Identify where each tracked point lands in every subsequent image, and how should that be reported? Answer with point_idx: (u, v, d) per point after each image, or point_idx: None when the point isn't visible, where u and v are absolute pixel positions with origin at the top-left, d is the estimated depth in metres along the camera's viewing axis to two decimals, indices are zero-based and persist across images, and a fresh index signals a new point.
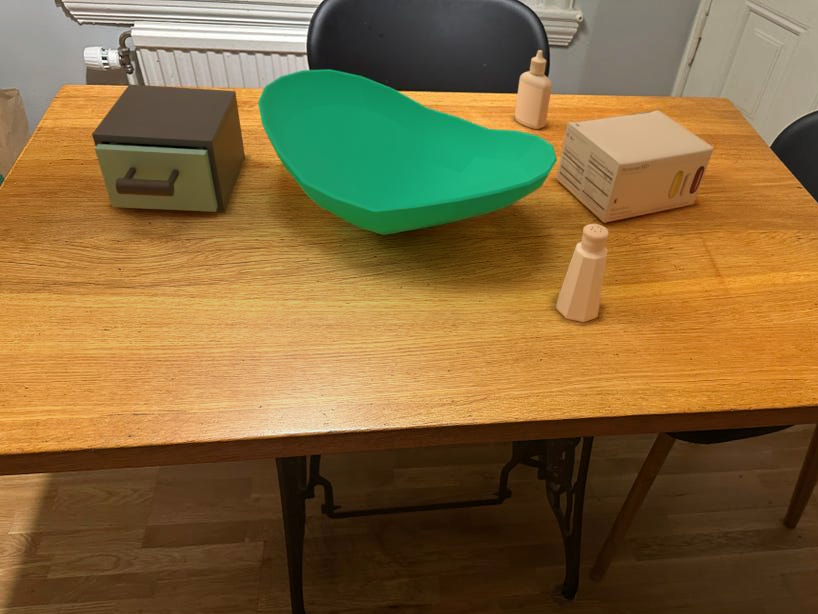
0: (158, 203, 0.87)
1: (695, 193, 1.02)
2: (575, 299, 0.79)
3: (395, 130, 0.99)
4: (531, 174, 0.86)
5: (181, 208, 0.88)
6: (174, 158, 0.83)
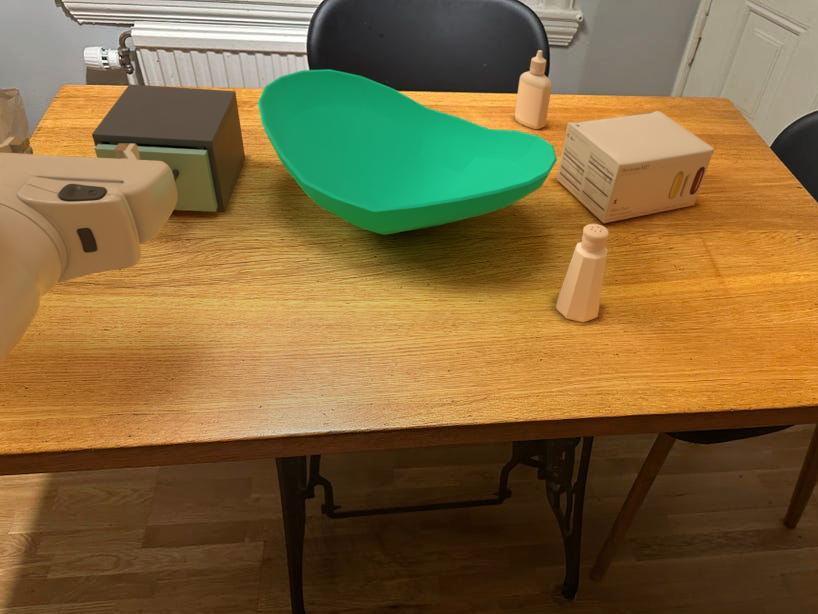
0: None
1: (695, 194, 1.02)
2: (575, 299, 0.79)
3: (395, 130, 0.99)
4: (531, 174, 0.86)
5: (181, 208, 0.88)
6: (174, 158, 0.83)
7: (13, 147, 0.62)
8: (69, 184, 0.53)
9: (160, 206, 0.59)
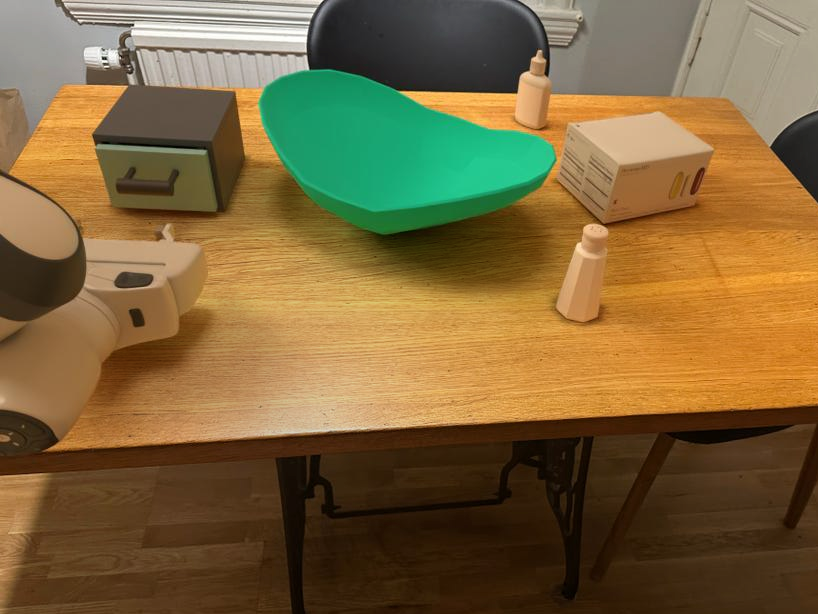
0: (158, 203, 0.87)
1: (696, 194, 1.02)
2: (575, 299, 0.79)
3: (395, 130, 0.99)
4: (531, 174, 0.86)
5: (181, 208, 0.88)
6: (174, 158, 0.83)
7: None
8: (122, 272, 0.64)
9: (195, 283, 0.70)
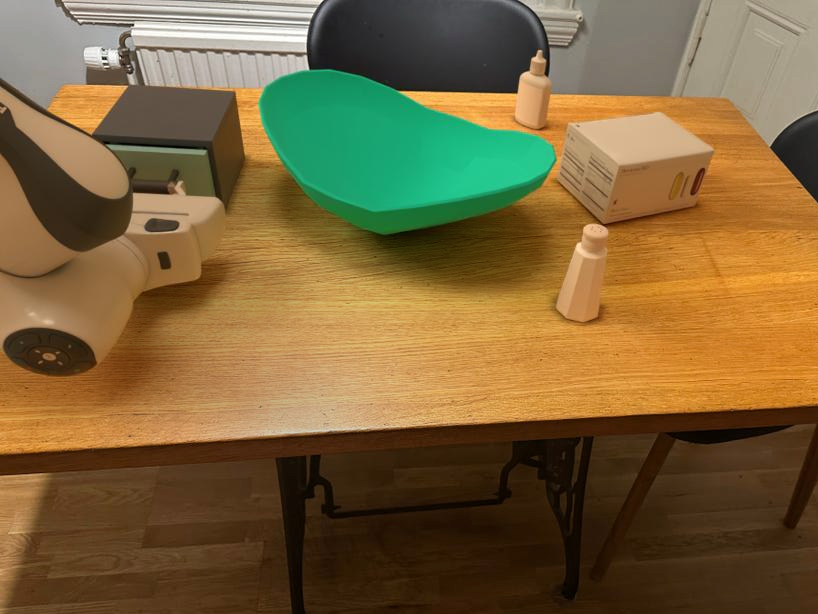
0: None
1: (696, 195, 1.02)
2: (575, 299, 0.79)
3: (395, 130, 0.99)
4: (531, 174, 0.86)
5: None
6: (174, 158, 0.83)
7: None
8: (151, 218, 0.71)
9: (216, 232, 0.76)
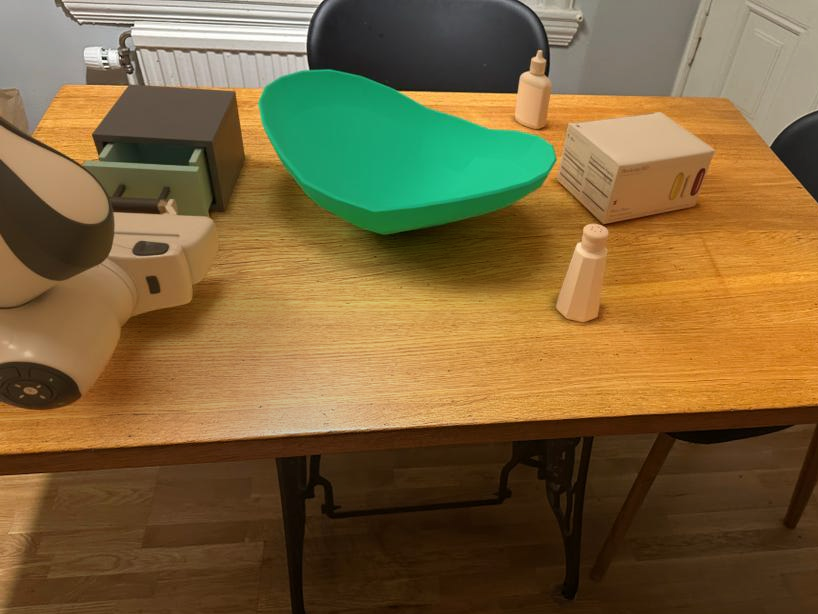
0: None
1: (696, 195, 1.02)
2: (575, 299, 0.79)
3: (395, 130, 0.99)
4: (531, 174, 0.86)
5: None
6: (165, 175, 0.80)
7: None
8: (139, 241, 0.68)
9: (207, 254, 0.73)
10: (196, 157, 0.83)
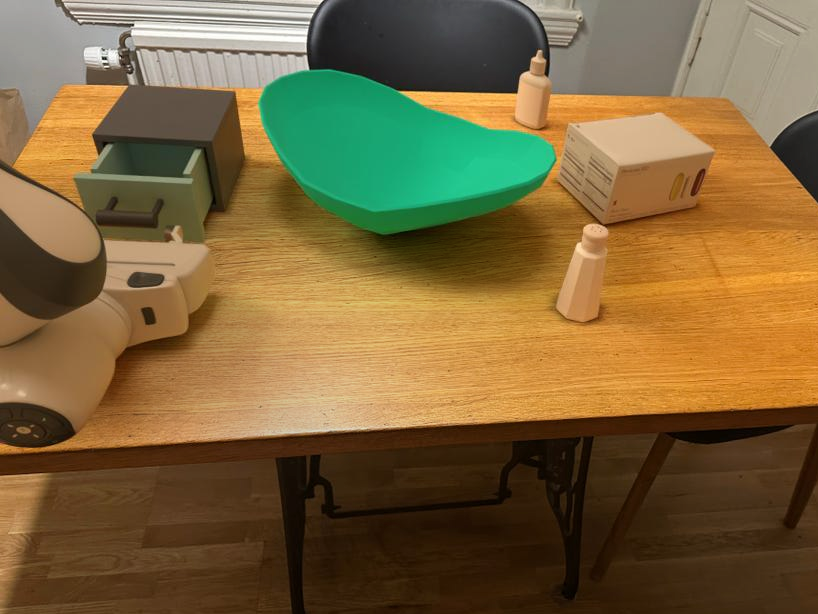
0: (142, 234, 0.82)
1: (696, 196, 1.02)
2: (575, 299, 0.79)
3: (395, 130, 0.99)
4: (531, 174, 0.86)
5: None
6: (159, 187, 0.78)
7: None
8: (134, 272, 0.67)
9: (204, 283, 0.73)
10: (190, 168, 0.81)
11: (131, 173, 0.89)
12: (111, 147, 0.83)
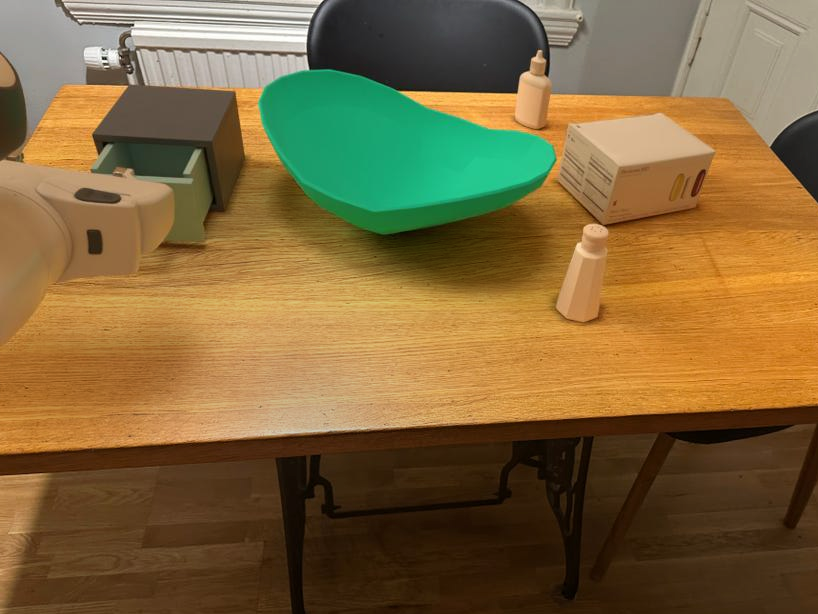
0: None
1: (696, 196, 1.01)
2: (575, 299, 0.79)
3: (395, 130, 0.99)
4: (531, 174, 0.86)
5: (167, 239, 0.83)
6: None
7: (9, 159, 0.63)
8: (84, 188, 0.55)
9: (162, 222, 0.61)
10: (190, 168, 0.81)
11: None
12: (111, 147, 0.83)
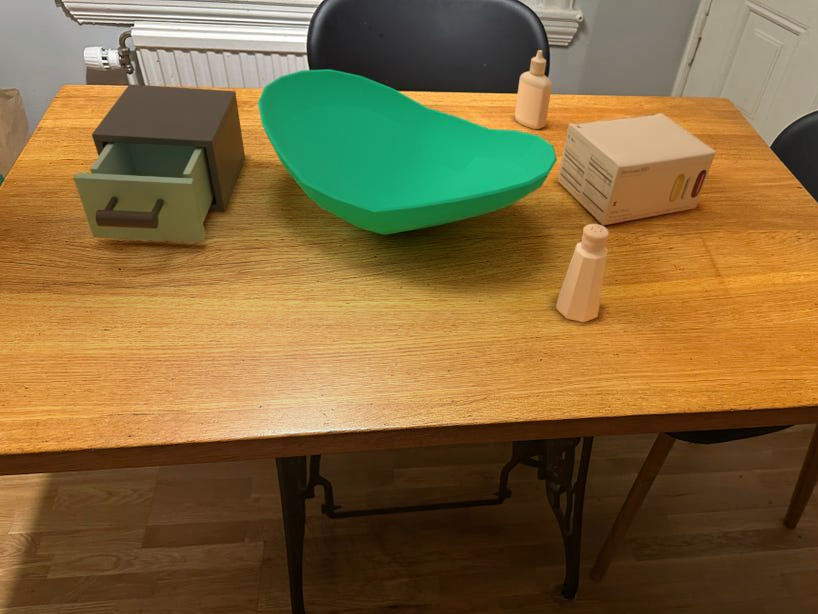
0: (142, 234, 0.82)
1: (697, 197, 1.01)
2: (575, 299, 0.79)
3: (395, 130, 0.99)
4: (531, 174, 0.86)
5: (167, 239, 0.83)
6: (159, 187, 0.78)
7: None
8: None
9: None
10: (190, 168, 0.81)
11: (131, 173, 0.89)
12: (111, 147, 0.83)
